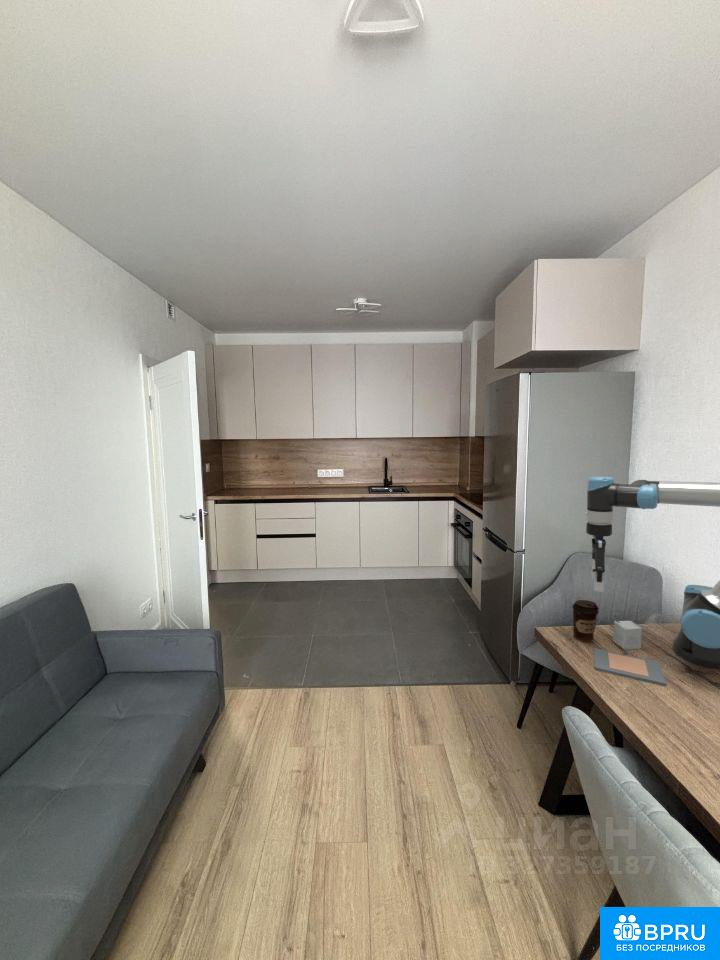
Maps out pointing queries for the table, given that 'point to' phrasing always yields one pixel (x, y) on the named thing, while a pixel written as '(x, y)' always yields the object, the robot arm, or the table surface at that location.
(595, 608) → the coffee cup
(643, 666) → the card
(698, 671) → the table surface
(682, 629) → the robot arm
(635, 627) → the skincare box
